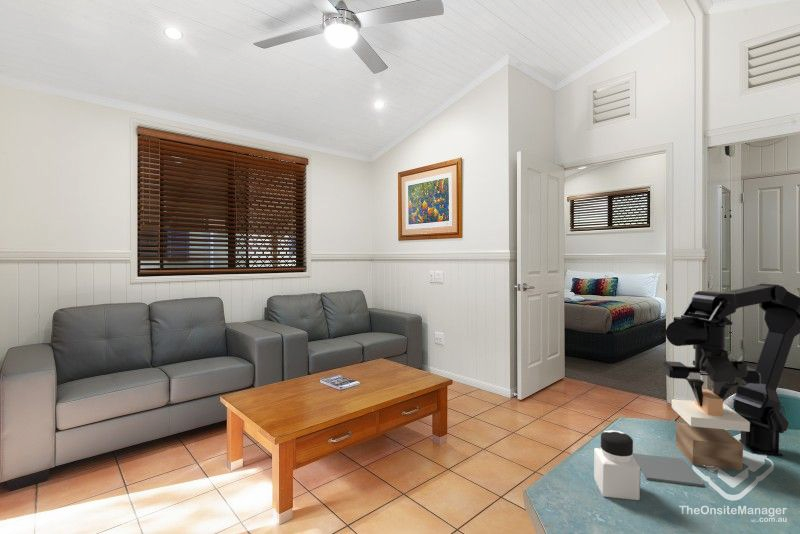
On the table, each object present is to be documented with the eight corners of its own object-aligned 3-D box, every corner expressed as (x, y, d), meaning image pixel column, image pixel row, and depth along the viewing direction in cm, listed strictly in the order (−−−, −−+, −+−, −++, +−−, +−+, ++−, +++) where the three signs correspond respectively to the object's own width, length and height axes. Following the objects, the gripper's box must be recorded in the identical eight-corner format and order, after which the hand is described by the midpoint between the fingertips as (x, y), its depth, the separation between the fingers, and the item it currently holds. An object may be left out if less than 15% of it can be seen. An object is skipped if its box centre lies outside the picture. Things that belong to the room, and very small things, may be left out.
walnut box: (720, 449, 103) (721, 426, 103) (742, 470, 94) (743, 444, 93) (675, 445, 106) (676, 422, 106) (692, 464, 96) (693, 440, 96)
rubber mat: (682, 460, 98) (682, 458, 98) (703, 486, 88) (703, 484, 87) (632, 455, 101) (632, 453, 101) (646, 479, 90) (646, 477, 90)
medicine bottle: (640, 501, 83) (641, 443, 82) (602, 497, 84) (603, 440, 84) (628, 481, 90) (629, 428, 89) (593, 478, 91) (594, 425, 91)
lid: (723, 411, 103) (724, 387, 103) (749, 431, 92) (750, 404, 92) (671, 407, 106) (672, 384, 106) (690, 426, 95) (691, 400, 95)
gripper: (679, 349, 93) (677, 415, 94) (777, 354, 88) (774, 424, 89) (661, 338, 104) (660, 398, 105) (748, 342, 99) (746, 405, 100)
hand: (708, 406), depth 99 cm, fingers closed on lid, 3 cm apart
